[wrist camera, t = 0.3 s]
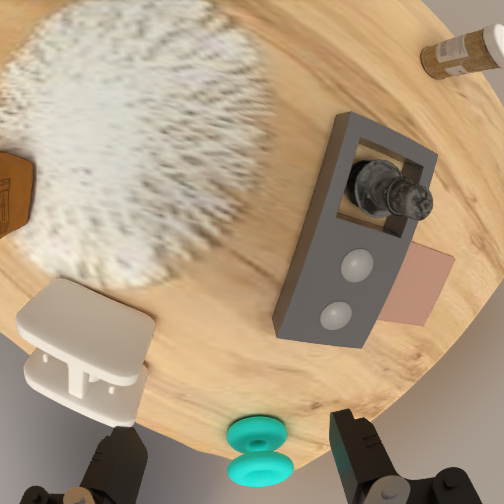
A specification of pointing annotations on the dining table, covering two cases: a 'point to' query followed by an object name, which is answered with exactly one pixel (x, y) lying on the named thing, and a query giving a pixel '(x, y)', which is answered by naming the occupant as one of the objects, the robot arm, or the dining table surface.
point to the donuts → (258, 452)
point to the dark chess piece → (386, 191)
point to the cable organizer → (86, 351)
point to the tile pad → (417, 286)
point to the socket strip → (347, 244)
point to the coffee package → (14, 192)
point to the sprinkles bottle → (466, 53)
